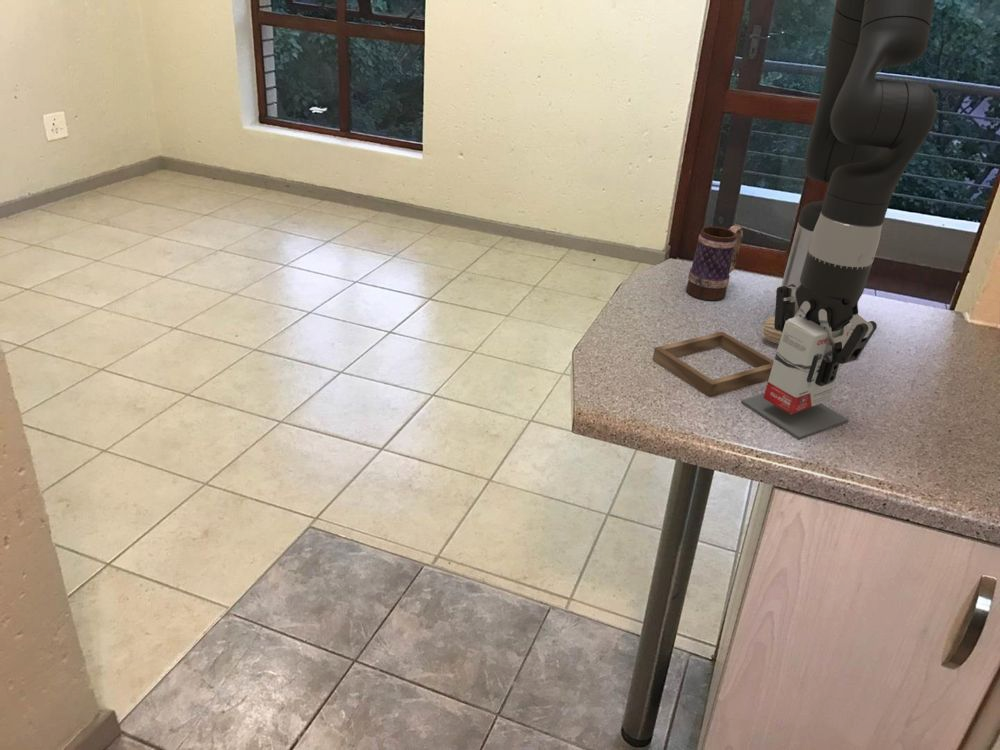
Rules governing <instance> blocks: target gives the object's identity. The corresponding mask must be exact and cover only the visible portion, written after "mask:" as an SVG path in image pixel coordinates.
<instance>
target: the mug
mask: <svg viewBox="0 0 1000 750" xmlns="http://www.w3.org/2000/svg"><path fill="white" fill-rule="evenodd" d="M743 237H744V230H743V229H742V227H741V226H740V225H738V224H737V225H736V224H734V225H731V226H730V227H729V228H725V227H721V226H720V227H719V226H705V227H702V228H701V230H700V232H699V235H698V239H697V244H696V249H695V253H694V256H693V260H692V263H691V264H692V265H691V267H690V269H689V273H688V277H687V279H688V280H687V285H686V289H685V290H686V291H687V293H688V294H689V295H690V296H692V297H694V298H695V299H699V300H702V301H710V302H711V301H719V300H721V299H723V298H725V297H726V293H727V287H728V285H729V284H730V283H729V282H730V274H731V273H732V272H733V271H734V269H735V268H736V267H735V266H736V264H737V260H738V257H739V251H740V247H741V244H742V240H743Z"/></svg>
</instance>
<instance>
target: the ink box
mask: <svg viewBox="0 0 1000 750" xmlns="http://www.w3.org/2000/svg"><path fill="white" fill-rule="evenodd" d="M841 330H842V329H840V330H838V331H834V332H832V331H831V332H832V337H834V336H837V335H839V334H840V333H841ZM850 330H851V322H850V323H849V324H847V325H846V331H847V338H846V340H845V342H844V345H845V344H846V342H847V340H848V339H849V337H850V335H851V333H850V332H849V331H850ZM826 337H827V332H825V331H824V330H822V329H820V325H818V324H816V323H814V322H813V321H811V320H810V321H809V320H807V318H804V319H803V318H801V317H799V316H797V317H794V318H790V319H788V320H787V321H786V322H785V325H784V329H783V332H782V335H781V339H780V342H779V344H778V346H777V350H776V353H775V356H774V363H773V366H772V369H771V373H770V376H769V380H767V384H766V387H765V390H764V392H763V394H764V397H763V398H764V399H766V400H767V401H769V402H771V403H772V404H774V405H776V406H777V407H779V408H781V409H782V410H784V411H786V412H787V413H789V414H794V413H796V412H799V411H802V410H804V409H807V408H810V407H812V406H815V405H818V404H821V403H822V404H823V403H826V402H828V401H830V399H831V397H832V394H833V392H834V388H835V384H836V383H837V379H838V376H839V373H840V371H841V367H842V365H843V364H839V367H838V371H837V374H836V377H835V380H834V381H833V382H831V383H829V384H827V385H824V386H819V385H817V384H815V381H816V378H817V375H818V372H819V369H820V365H821V362H822V360H823V359H824V351H825V348H826V344H825V340H826ZM834 346H835V345H834Z"/></svg>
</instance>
